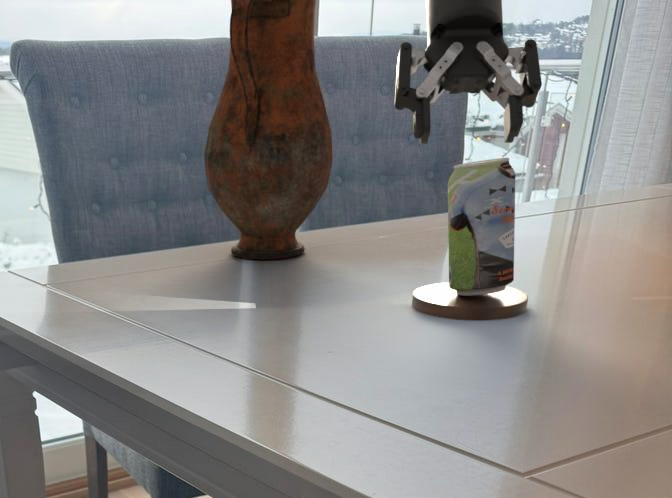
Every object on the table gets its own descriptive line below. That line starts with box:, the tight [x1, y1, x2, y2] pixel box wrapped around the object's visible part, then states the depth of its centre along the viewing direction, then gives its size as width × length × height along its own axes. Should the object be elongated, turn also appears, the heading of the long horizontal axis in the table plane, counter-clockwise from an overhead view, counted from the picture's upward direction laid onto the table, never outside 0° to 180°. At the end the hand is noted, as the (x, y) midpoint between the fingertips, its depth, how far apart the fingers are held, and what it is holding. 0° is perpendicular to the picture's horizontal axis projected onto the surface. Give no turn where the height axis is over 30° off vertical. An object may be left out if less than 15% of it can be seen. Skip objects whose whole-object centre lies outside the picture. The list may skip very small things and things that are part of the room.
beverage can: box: [447, 157, 516, 296], centre depth 88 cm, size 6×7×12 cm
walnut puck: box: [411, 282, 529, 321], centre depth 92 cm, size 11×11×3 cm
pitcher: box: [203, 0, 334, 261], centre depth 117 cm, size 17×21×30 cm
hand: (468, 137), depth 94 cm, fingers open, 8 cm apart
